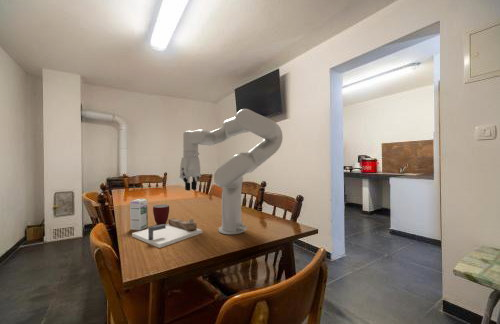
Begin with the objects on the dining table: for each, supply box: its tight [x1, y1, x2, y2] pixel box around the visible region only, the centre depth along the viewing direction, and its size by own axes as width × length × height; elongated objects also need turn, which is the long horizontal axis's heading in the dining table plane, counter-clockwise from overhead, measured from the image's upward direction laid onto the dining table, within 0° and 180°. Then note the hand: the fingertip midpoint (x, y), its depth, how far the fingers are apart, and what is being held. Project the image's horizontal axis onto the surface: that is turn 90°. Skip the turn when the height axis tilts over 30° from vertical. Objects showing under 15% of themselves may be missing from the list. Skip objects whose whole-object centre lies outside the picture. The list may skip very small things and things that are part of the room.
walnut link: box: [168, 218, 198, 231], centre depth 109 cm, size 18×5×5 cm, turn 54°
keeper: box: [147, 224, 166, 240], centre depth 94 cm, size 7×2×5 cm, turn 132°
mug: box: [152, 203, 170, 225], centre depth 119 cm, size 11×8×10 cm
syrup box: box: [129, 198, 149, 231], centre depth 112 cm, size 6×6×14 cm
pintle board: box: [131, 222, 203, 249], centre depth 102 cm, size 22×22×2 cm
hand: (190, 189), depth 116 cm, fingers open, 3 cm apart
